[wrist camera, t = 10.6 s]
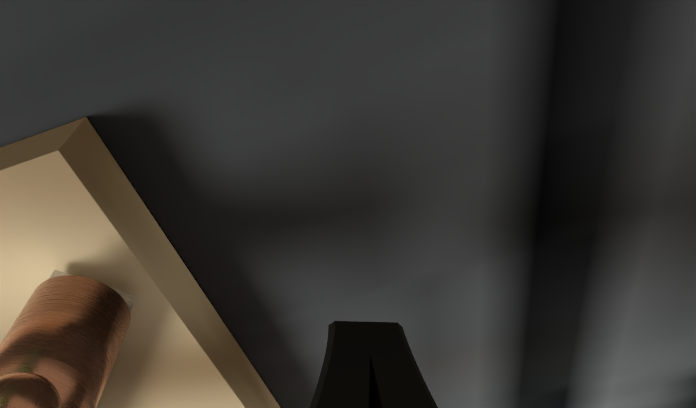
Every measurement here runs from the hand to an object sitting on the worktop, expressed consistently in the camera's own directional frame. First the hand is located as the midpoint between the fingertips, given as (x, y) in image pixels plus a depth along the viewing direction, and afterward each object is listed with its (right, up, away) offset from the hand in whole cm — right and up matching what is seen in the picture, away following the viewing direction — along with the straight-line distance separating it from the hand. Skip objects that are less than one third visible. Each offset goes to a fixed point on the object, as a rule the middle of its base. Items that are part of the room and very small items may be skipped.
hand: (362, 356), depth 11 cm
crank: (-7, -1, +3) cm, 8 cm away
